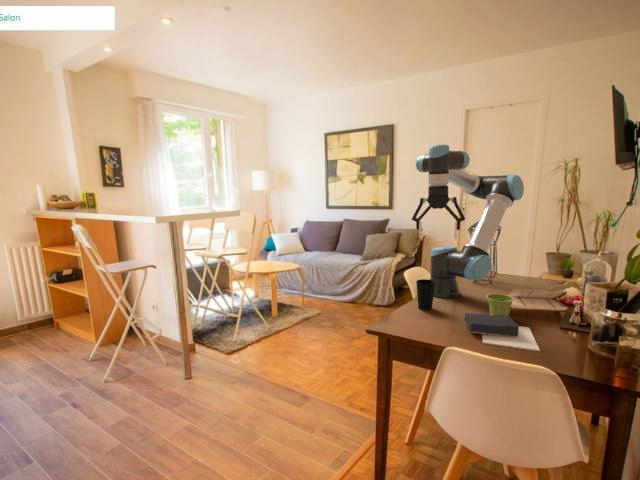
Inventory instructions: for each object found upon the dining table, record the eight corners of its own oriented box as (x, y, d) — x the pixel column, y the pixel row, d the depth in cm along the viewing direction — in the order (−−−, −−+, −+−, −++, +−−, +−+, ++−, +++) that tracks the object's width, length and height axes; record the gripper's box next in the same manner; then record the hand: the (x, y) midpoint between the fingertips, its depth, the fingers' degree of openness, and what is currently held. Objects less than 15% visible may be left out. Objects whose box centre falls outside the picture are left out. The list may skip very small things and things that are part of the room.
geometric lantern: (497, 287, 168) (501, 219, 162) (464, 283, 176) (466, 218, 171) (499, 280, 181) (503, 216, 176) (468, 276, 189) (471, 216, 184)
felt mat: (480, 322, 125) (480, 321, 125) (528, 328, 119) (528, 327, 119) (483, 343, 109) (483, 341, 109) (539, 351, 103) (539, 349, 103)
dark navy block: (470, 333, 114) (517, 338, 111) (471, 321, 114) (519, 326, 110) (463, 321, 125) (506, 326, 122) (464, 311, 124) (508, 315, 121)
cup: (434, 306, 144) (435, 279, 142) (434, 312, 137) (435, 284, 135) (416, 304, 147) (416, 278, 145) (415, 310, 139) (415, 283, 138)
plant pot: (487, 321, 126) (488, 300, 125) (484, 312, 135) (485, 292, 134) (514, 324, 123) (516, 302, 122) (509, 315, 132) (511, 294, 130)
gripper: (405, 186, 132) (405, 238, 135) (473, 184, 123) (471, 239, 126) (407, 186, 139) (407, 235, 142) (472, 183, 129) (470, 236, 133)
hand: (437, 237), depth 134 cm, fingers open, 13 cm apart
